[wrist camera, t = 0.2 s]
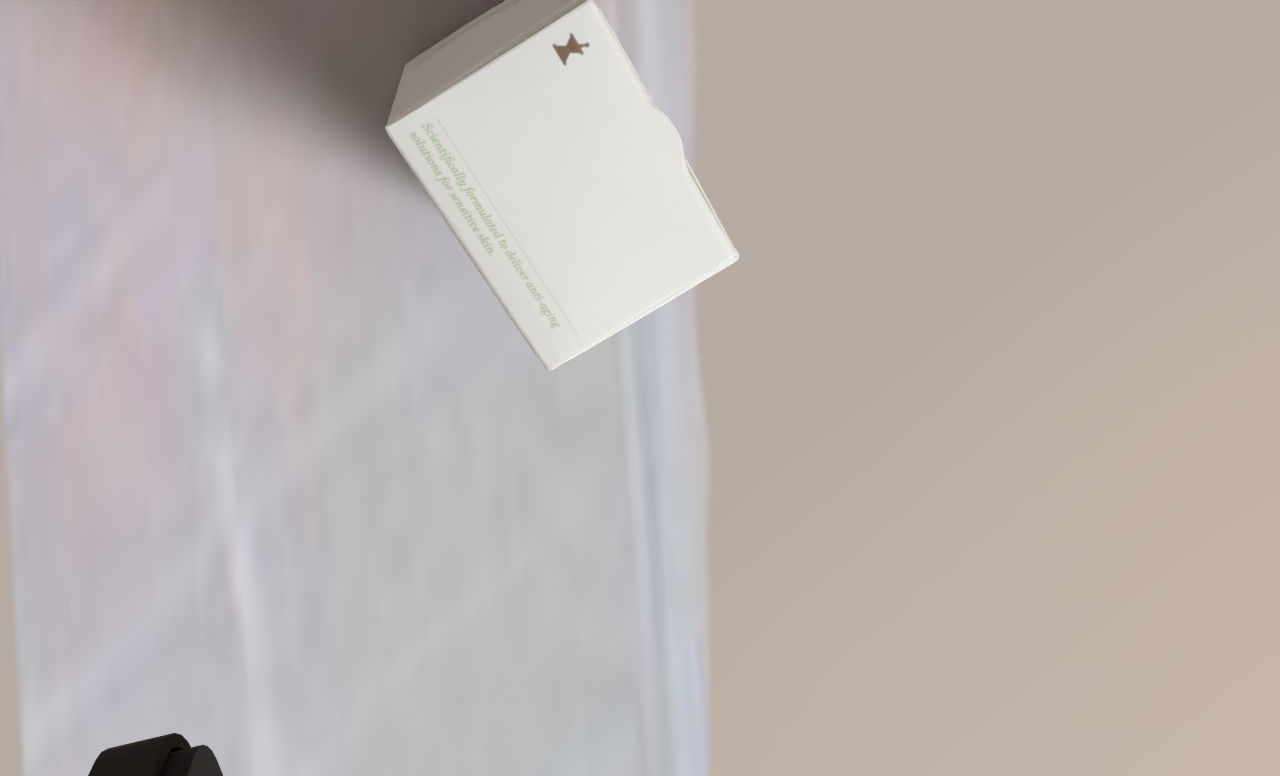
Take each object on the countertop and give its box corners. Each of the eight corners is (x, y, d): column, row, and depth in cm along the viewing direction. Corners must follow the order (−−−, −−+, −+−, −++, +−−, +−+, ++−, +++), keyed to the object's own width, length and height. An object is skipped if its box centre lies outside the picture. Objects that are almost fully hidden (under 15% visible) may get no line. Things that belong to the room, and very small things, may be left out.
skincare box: (402, 62, 43) (361, 116, 28) (552, -32, 42) (590, -27, 28) (521, 249, 46) (540, 384, 31) (663, 163, 45) (749, 260, 31)
